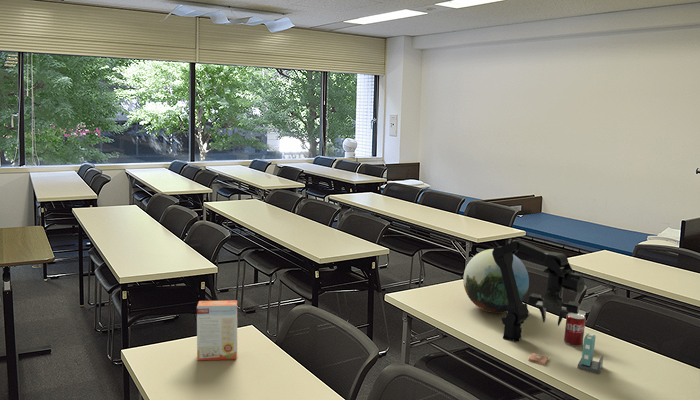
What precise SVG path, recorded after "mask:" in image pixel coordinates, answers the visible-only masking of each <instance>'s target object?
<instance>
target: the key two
mask: <svg viewBox="0 0 700 400" xmlns="http://www.w3.org/2000/svg"><path fill="white" fill-rule="evenodd" d="M595 343H596V334H595V335H594V334H591V333H586V334H585V337H583V344H582V345H583V346H582V352H581V353H582V354H581V358H582V361H581V364H584V365H587V366H590V365H591V363H592V361H594V360H593V359H594V353H595V352H594V351H595Z"/></svg>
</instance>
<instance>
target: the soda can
mask: <svg viewBox="0 0 700 400" xmlns="http://www.w3.org/2000/svg"><path fill="white" fill-rule="evenodd" d="M585 326H586V316H584V315H583V314H581V313H579V312H578V313H577V314H575V313H571V312H569V313H568V314H566V318H565V328H564V334H563V335H564V336H563V342H564V343H565V344H566V345H568V346H572V347H581V346H582V345H583V344H584V338H585V337H584V335H585Z"/></svg>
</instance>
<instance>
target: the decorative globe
mask: <svg viewBox="0 0 700 400" xmlns="http://www.w3.org/2000/svg"><path fill="white" fill-rule="evenodd" d="M493 250H494V248H489V249H485V250H482V251H480V252H478V253H476V254H475V255H474V256H473V257H471V259H470V260H469V261H468V263H467V265H466V266H465V269H464V271H463V272H464V273H463V287H464V291H465V293H466V295H467V297H468V298H469V300H470V301H471V302H472V303H473V305H475V306H476V307H478V308H479V309H481V310H482V311H486V312H488V313H492V314H499V313H500V314H501V313H507V306H508V298H507V294H506V290H505V286H504V282H503V278H502V274H501V270H500V267H499V266H498V265H497V264H496V263H495V260H494V258H493V255H492V251H493ZM512 268H513V272H514V276H515V280H516V285H517V289H518V293H519V297H520V300H521V301H522V302H523V301H524V300H525V298H526V297H527V294H528V291H529V287H530V277H529V273H528V270H527V268H526V266H525V264H524V263H523V261H522V260H521V259H520V258H519V257H517V256H516V255H515V253H514V254H513V263H512Z"/></svg>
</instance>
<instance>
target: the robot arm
mask: <svg viewBox="0 0 700 400" xmlns="http://www.w3.org/2000/svg"><path fill="white" fill-rule="evenodd" d="M493 249H494V250H493V251H492V255H493V258H494V260H495V263H496V264H497V265H498V266H499V267H500V270H501V274H502V278H503V282H504V286H505V290H506V294H507V298H508V306H507V312H506V314H507V315H505V316H504V317H502V318H501V323H502V325H504V328H503V336H502V339H504V340H508V341H512V342H513V341H514V342H519V341H520V340H521V338H522V333H523V327H522V324H524V323H525V321H527V320H528V318H529V313H530V311H529V309H528V304H530V305H535V307H536V308H537V309H539V312H540V314H541V319H542V323H545V322H546V319H547V318H546V317H547V314H546V313H547V309H549V310H551V311H555V310H557V308H561V309H560V311H559V316H558V321H557V327H559V326H560V324H561V322H562V320H563V319H564V317H565V315H567V314H569V313H575V314H577V313H578V314H579V311H580V310H581V304H580V302H577V301H572V300H569V301H568V302H564V298H563V291H564V290H568V291H570V292H574V293H577V294H582V292H583V291H584V289H585V286H586V285H585V284H586V283H585V279H584V278H583V274H580V273H579V274H578V273H574V270H573V268H572V266H571V265H570V263H569V259H568V257H567V255H566V254H564V253H562V252H557V251H548V250H546V249H543V248H540V247H538V246H536V245H533V244H531V243H528V242H526V241H524V240H523V239H515V240H512V241H511V242H509V243H507V244H505V245H502V246H501V245H499V246H496V247H494V248H493ZM517 252H520V253H521V254H524V255H527V256H529V257H531V258H534V259H535V260H539V261H540V262H542V264H543V265H544V266H545V267H547V268H546V269H543V270H542V272H543V273H546V274H547V275H548V277H547V285H546V286H547V288H546V290H545V294H544V297H542V294H537V293H535V292H534V293H533V292H532V293H530V294H529V295H528V297H527V300H526V303H525V302H523V301H521V300H520V297H519V293H518V289H517V285H516V280H515V276H514V272H513V268H512V263H513V254H514V255H515V253H517Z"/></svg>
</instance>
